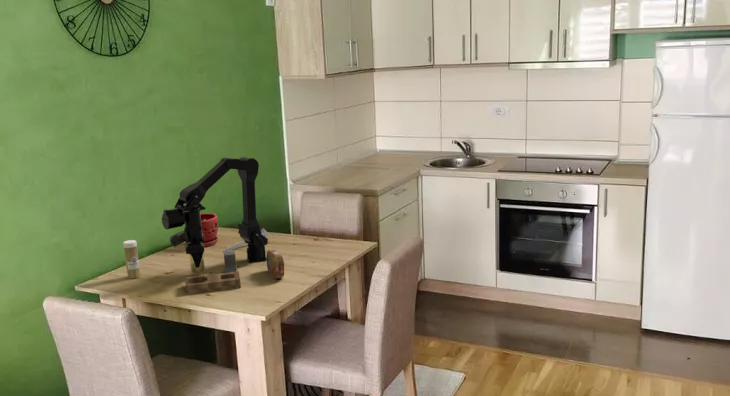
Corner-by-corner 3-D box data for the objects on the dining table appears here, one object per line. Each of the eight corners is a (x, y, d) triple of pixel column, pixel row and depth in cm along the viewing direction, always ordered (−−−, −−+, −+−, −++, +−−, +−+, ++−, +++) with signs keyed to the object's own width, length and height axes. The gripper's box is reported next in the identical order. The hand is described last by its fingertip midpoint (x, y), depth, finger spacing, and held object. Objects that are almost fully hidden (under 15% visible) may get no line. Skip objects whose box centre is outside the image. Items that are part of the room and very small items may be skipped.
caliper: (266, 241, 286) (265, 227, 285) (268, 242, 285) (267, 227, 284) (223, 252, 274) (221, 237, 272) (224, 252, 273) (223, 237, 272)
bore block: (239, 279, 240) (238, 271, 239) (240, 287, 231) (240, 279, 230) (186, 285, 236) (186, 277, 235) (186, 294, 227) (185, 285, 226)
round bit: (204, 268, 248) (202, 249, 247) (204, 272, 244) (203, 253, 242) (191, 269, 247) (189, 251, 246) (191, 273, 243) (189, 255, 241)
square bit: (236, 269, 251) (234, 251, 249) (236, 272, 247) (235, 254, 246) (225, 270, 250) (223, 252, 249) (225, 273, 246) (223, 255, 245)
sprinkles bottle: (133, 279, 245) (128, 243, 242) (124, 277, 247) (120, 242, 244) (143, 275, 248) (139, 240, 245) (135, 274, 251) (130, 239, 248)
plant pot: (190, 241, 292) (187, 214, 289) (221, 239, 292) (219, 212, 290) (185, 249, 279) (182, 221, 276) (217, 247, 280) (214, 219, 277)
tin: (266, 270, 249) (264, 247, 247) (274, 268, 250) (273, 246, 248) (277, 282, 235) (276, 258, 233) (286, 280, 236) (285, 257, 234)
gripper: (170, 219, 249) (175, 260, 252) (168, 232, 231) (173, 276, 235) (201, 216, 251) (206, 257, 255) (201, 229, 234) (206, 272, 237)
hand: (197, 265), depth 245 cm, fingers closed on round bit, 5 cm apart
